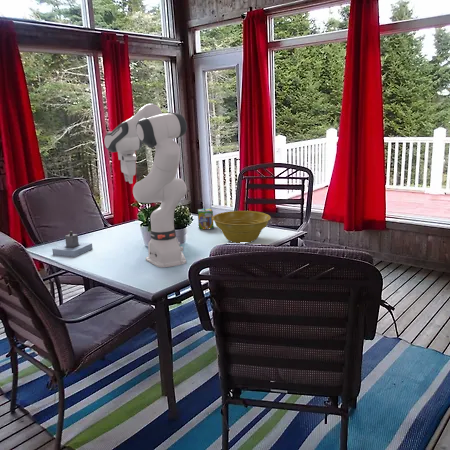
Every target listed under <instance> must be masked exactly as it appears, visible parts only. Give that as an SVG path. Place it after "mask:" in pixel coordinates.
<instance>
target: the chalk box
mask: <svg viewBox="0 0 450 450" xmlns="http://www.w3.org/2000/svg"><path fill="white" fill-rule="evenodd" d="M202 207H203V208H198V209H197V219H198V222H197V223H198V224H197V225H198V226H199V227H198V230H199V229H203V230H210V229H209V228H214V229H215V227H214V226H215V225H214V220H213V219H212V217H213V216H214V213H213V209H212V208H205V206H204V204H202Z"/></svg>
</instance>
